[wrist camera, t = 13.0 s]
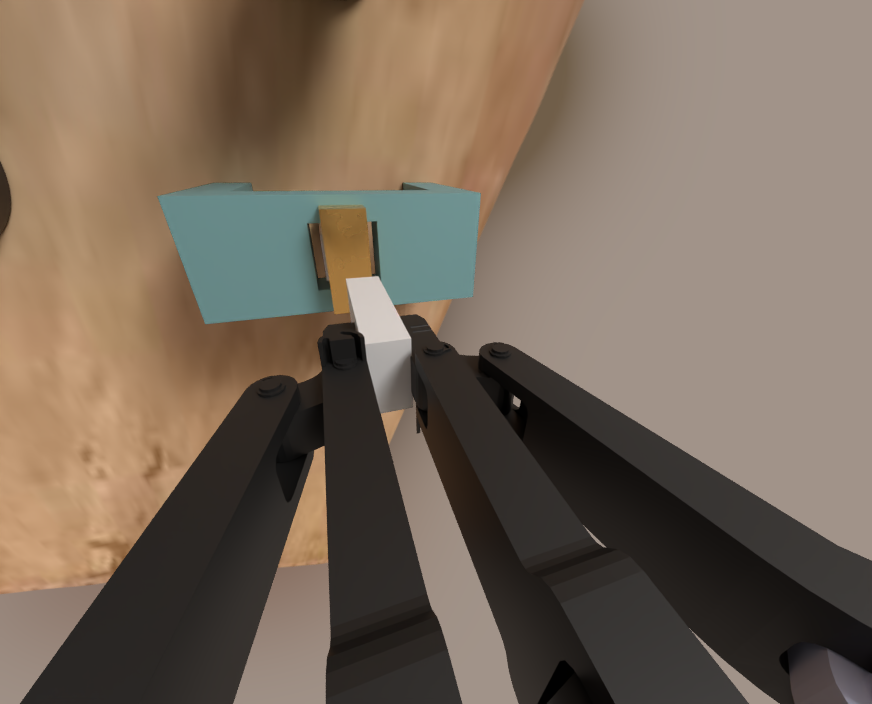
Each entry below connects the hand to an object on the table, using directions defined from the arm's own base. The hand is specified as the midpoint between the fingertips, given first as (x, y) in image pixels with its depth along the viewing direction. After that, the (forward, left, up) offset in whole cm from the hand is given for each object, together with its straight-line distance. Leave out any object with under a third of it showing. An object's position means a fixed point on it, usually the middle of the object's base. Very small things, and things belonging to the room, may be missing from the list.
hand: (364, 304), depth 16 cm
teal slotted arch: (0, 0, -22) cm, 22 cm away
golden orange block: (0, 0, -21) cm, 21 cm away
